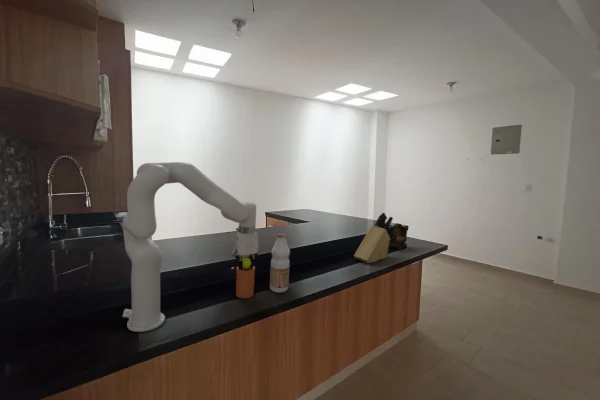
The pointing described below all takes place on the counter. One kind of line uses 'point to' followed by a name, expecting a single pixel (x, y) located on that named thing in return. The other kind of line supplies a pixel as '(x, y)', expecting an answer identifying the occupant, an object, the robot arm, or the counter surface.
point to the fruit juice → (280, 265)
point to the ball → (246, 262)
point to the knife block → (376, 241)
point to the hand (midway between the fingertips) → (245, 267)
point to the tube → (245, 282)
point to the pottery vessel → (398, 236)
